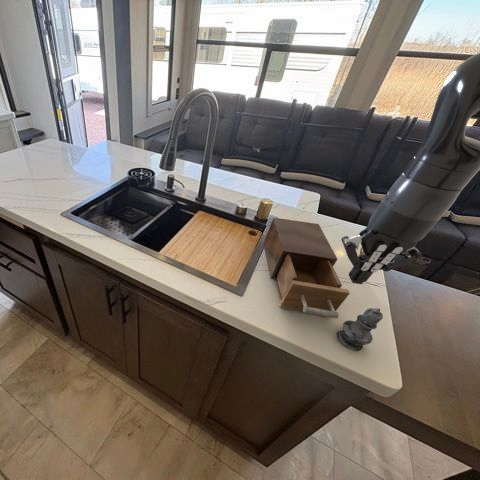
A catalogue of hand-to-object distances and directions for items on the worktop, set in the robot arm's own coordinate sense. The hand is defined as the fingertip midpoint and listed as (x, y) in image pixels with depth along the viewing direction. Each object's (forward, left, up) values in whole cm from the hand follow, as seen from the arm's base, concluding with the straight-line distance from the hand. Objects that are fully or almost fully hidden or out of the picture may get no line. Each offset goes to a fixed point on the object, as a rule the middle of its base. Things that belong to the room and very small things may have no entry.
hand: (355, 280), depth 51 cm
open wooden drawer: (+9, -1, -16) cm, 18 cm away
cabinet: (+22, -7, -17) cm, 28 cm away
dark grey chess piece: (-4, -5, -17) cm, 18 cm away
